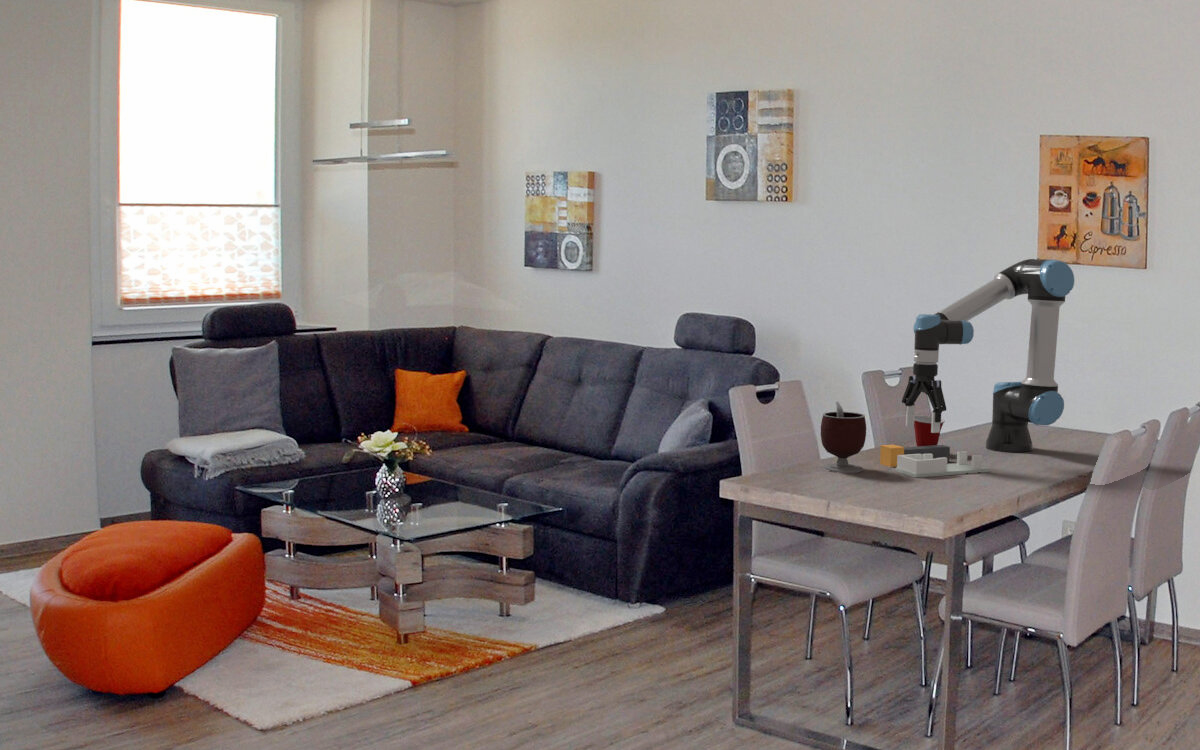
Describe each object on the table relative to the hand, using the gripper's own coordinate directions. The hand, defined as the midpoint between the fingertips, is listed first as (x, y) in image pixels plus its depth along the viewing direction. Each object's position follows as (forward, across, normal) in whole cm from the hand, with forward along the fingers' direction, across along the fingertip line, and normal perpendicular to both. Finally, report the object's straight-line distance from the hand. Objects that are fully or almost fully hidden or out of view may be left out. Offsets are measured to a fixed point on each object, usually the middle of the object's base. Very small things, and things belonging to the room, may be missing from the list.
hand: (922, 429), depth 401 cm
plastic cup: (+11, -14, +13) cm, 22 cm away
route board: (+11, +14, -2) cm, 18 cm away
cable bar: (+11, 0, -2) cm, 11 cm away
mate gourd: (+12, 0, -29) cm, 32 cm away
